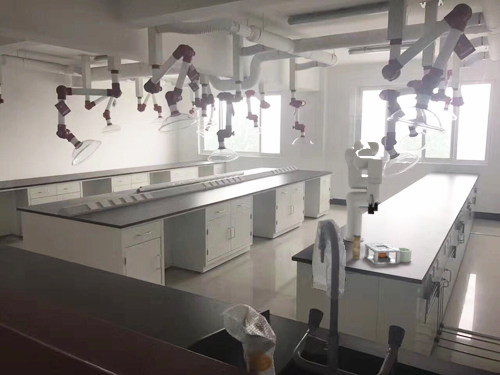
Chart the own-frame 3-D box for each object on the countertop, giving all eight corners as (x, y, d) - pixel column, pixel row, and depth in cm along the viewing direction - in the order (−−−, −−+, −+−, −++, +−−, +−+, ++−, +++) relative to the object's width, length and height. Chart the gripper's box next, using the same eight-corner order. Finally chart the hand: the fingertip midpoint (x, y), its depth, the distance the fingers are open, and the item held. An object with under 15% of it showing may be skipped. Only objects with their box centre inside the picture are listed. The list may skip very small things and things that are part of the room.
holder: (394, 258, 221) (394, 247, 220) (406, 257, 222) (406, 247, 221) (400, 262, 214) (400, 251, 213) (412, 262, 215) (413, 251, 214)
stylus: (351, 257, 223) (352, 234, 221) (358, 257, 223) (359, 234, 222) (354, 259, 219) (354, 236, 217) (360, 259, 220) (361, 236, 218)
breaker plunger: (375, 255, 221) (376, 250, 220) (383, 255, 221) (384, 250, 221) (379, 258, 216) (379, 252, 216) (387, 257, 217) (387, 252, 216)
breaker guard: (364, 256, 225) (364, 243, 224) (388, 255, 226) (388, 242, 225) (374, 264, 211) (375, 251, 210) (399, 263, 213) (400, 250, 212)
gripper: (370, 179, 221) (369, 209, 224) (363, 182, 206) (362, 214, 209) (384, 179, 218) (383, 210, 220) (378, 183, 203) (376, 216, 205)
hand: (372, 212), depth 214 cm, fingers open, 9 cm apart
